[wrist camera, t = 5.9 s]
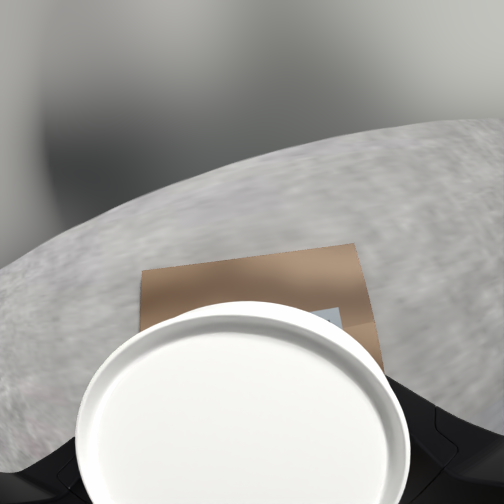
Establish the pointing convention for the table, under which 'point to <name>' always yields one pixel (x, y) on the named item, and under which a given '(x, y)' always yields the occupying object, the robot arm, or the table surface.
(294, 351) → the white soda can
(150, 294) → the brown slab
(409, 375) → the table surface
